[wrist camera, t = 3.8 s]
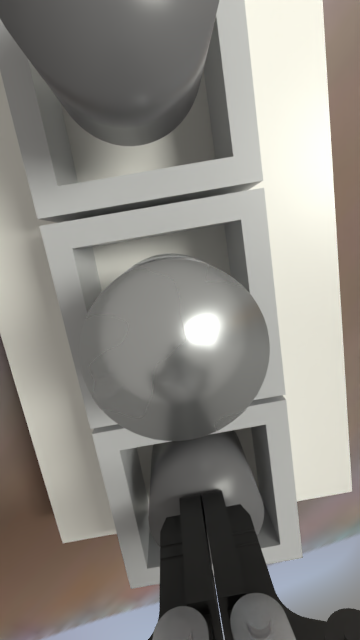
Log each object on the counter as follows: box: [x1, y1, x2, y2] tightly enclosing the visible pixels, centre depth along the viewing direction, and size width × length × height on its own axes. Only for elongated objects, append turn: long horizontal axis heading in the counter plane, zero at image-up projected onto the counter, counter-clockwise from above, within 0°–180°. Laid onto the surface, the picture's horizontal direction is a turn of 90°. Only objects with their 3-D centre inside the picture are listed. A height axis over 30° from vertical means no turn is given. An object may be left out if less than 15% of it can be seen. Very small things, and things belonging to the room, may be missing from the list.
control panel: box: [0, 0, 352, 589], centre depth 13 cm, size 14×21×5 cm, turn 10°
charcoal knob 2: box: [148, 430, 264, 563], centre depth 13 cm, size 4×4×4 cm
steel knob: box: [79, 253, 270, 441], centre depth 9 cm, size 4×4×4 cm
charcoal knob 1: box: [0, 0, 219, 146], centre depth 7 cm, size 4×4×4 cm
